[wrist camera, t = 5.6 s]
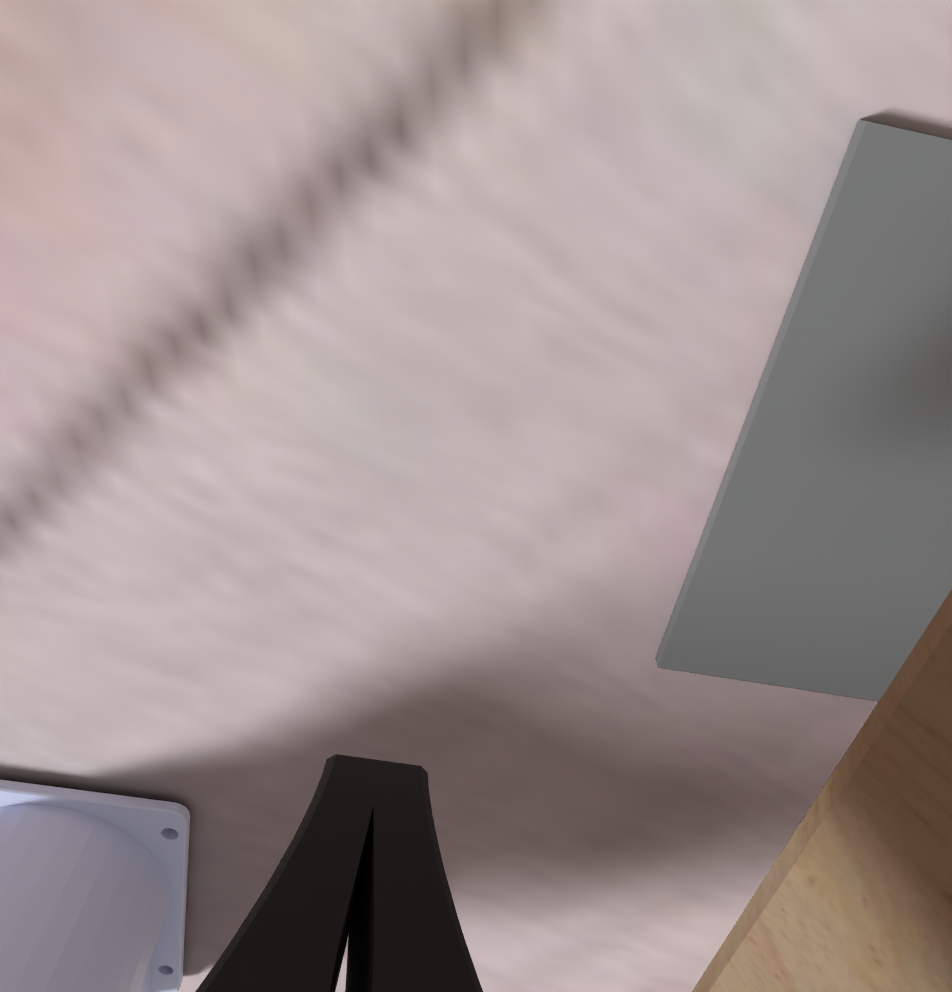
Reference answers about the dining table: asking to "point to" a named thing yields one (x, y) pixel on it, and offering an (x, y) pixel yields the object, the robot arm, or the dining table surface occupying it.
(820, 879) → the decorative block
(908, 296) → the grey flat plate
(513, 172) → the dining table surface
